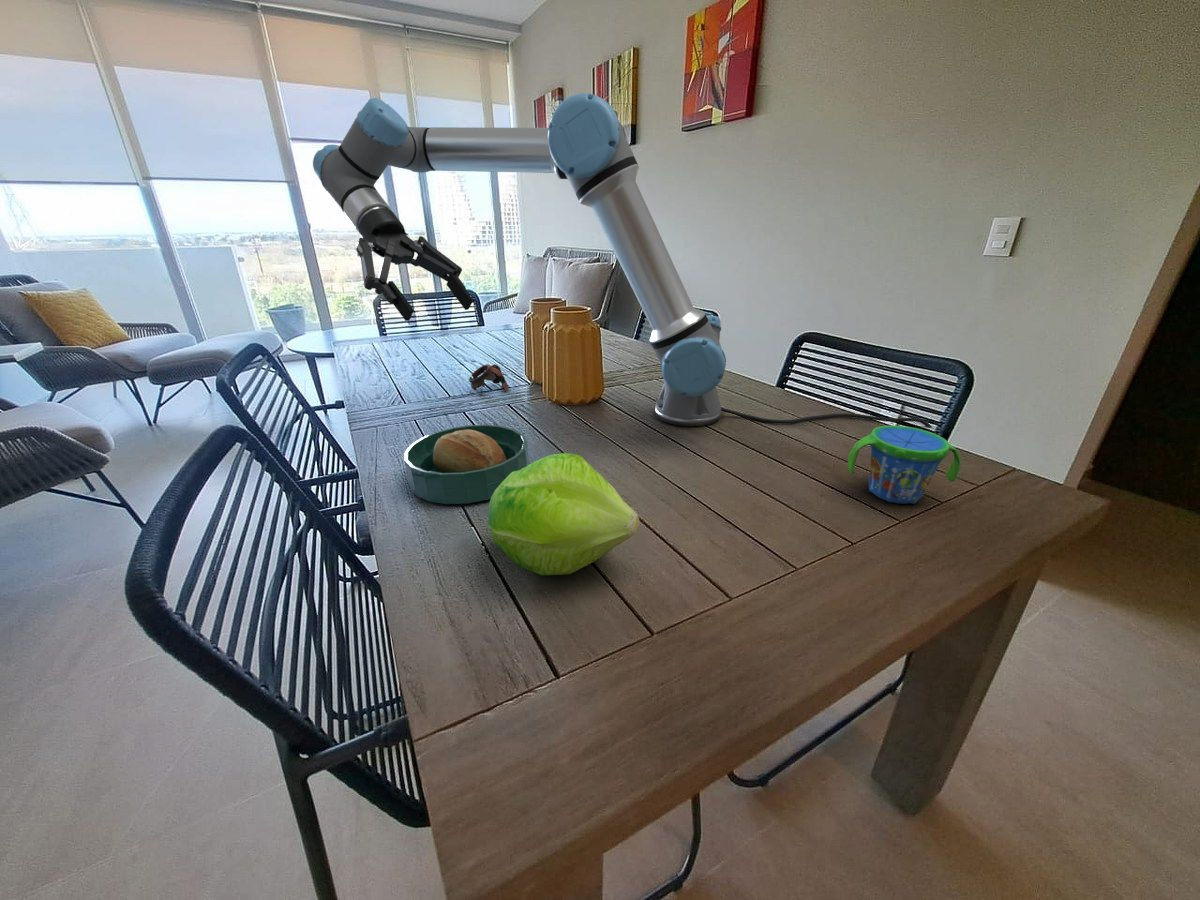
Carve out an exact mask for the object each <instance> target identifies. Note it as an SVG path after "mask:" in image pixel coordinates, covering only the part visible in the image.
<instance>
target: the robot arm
mask: <svg viewBox="0 0 1200 900" xmlns="http://www.w3.org/2000/svg"><path fill="white" fill-rule="evenodd" d="M549 121H550V122H549V124H548V127H470V126H469V127H467V126H466V127H464V126H463V127H460V126H459V127H457V126H456V127H455V126H454V127H453V126H452V127H450V126H449V127H447V126H446V127H439V126H438V127H437V126H435V127H434V126H433V127H424V126H419V127H418V126H408V124H407V122H406V121H405V120H404V118H403V117H402V116H401V115H400V114H399V113H398V112H397V111H396V110H395V109H394V108H393V106H390V104H388V103H386V102H385V101H383V100H382V99H380V98H378V97H371V98H369V99H368V100H367V101H366V103H365V104H364V106H363V107H362V108H361V109H360V110H359V111H358V112H357V114H356V117H355V118H354V120H353V122H352V124H351V126H350V127H349V129H348V131H347V133H346V134H345V136H344V138H343V139H342V141H341V143H340V145H338V144H326V145H323V148H321V149H318V150H317V151H316V153H315V154H314V155H313V157H312V158H313V159H312V168H313V171H314V173H315V175H316V177H317V178H318V179H319V181H320V183H321V185H322V187H323V189H324V190H325V191H326V192H327V193H328V194H329V195H330V196H331V197H332V198H333V200H334V201H335V204H337V206H338V207H339V208H340V209H341V211H342V212H343V213H344V215H345V217H346V218H347V220H348V221H349V223H351V225H352V226H353V227H354V229H355V230H356V231H357V232H358V234H359V236H360V237H359V238H358V242H357V244H356V248H355V251H356V252H357V255H358V256H359V258H360V263H361V272H362V279H363V286H364V288H365V289H366V290H368V291H371V290H372V289H374V293H375V294H376V295H378V296H381V295H382V296H383V297H384V298H385V300H386V301H387V303H389V304H390V305H393V306H394V307H395V309H396V310H397V311H398V313H399V314H400V316H401V317H402V319H404V321H405V322H408V321H411V318H412V316H413V314H414V311H415V309H414V308H413V306H412V305H411V304H410V303H409V301H408V300H407V298H406V297H405V295H404V294H403V293H402V292H401V290H400V289H399V288H398V286H397V285H396V284H395V282H394V281H393V280H389V281H388V278H389V275H390V274H389V273H390V269H391V264H394V265H395V266H398V265H401V264H404V265H409V264H410V265H412V266H414V267H420V268H422V269H424V270H426V271H427V272H429V273H431V274H433V275H434V276H436V277H438V278H440V279H442V280H444V281H445V282H446V284H445V285H446V287H447V288H448V289H449V291H450V292H451V293H452V295H453V296H454V297H455V298H456V300H457V301H458V303H459V304H460V305H461V306H462V308H463V310H465V311H467V310H468V311H469V310H470V307H471V306H472V304H473V302H474V298H473V297H472V296H471V295H470V293H469V291H468V290H467V287H466V285H465V284H464V282H463V281H462V279H460V275H461V274H462V271H463V269H462V267H461V266H460V265H458V264H457V263H455V262H454V261H453V260H451V258H449V257H447V256H446V255H445V254H444V253H443V252H441V251H440V250H438V249H437V248H436V247H434V246H433V245H432V244H431V243H429V241H428V240H427V239H426V238H425V237H424V236H422V235H419V236H418V238H417V239H414V240H413V239H412V238H410V236H408V235H407V232H406V229H405V226H404V225H403V223H402V221H401V220H400V219H399V218H398V217H397V215H396V213H395V212H394V211H393V210H392V208H391V207H390V206H389V204H388V203H387V202H386V199H384V198H383V197H382V195H381V194H380V193H379V191H378V190H377V188H376V187H375V185H376V183H377V182H378V180H379V179H380V178H381V176H382V175H383V173H384V172H385V170H386V169H387V167H394V168H398V169H404V170H407V171H411V172H413V173H419V174H420V173H421V174H422V173H423V174H424V173H428V172H436V171H437V172H476V173H477V172H483V173H486V172H487V173H489V172H490V173H529V174H531V173H533V174H534V173H535V174H541V173H542V174H555V175H556V176H557V178H558V179H559V180H568V182H569V184H570V186H571V188H572V191H573V192H574V194H575V195H576V198H577V200H578V202H579V204H580V205H583V206H585V207H588V208H591V209H592V210H593V212H594V214H595V216H596V218H597V220H598V222H599V225H600V227H601V228H602V231H603V232H604V235H605V237H606V238H607V240H608V243H609V244H610V247H611V249H612V251H613V253H614V254H615V257H616V259H617V261H618V263H619V265H620V267H621V269H622V271H623V273H624V275H625V277H626V279H627V281H628V283H629V285H630V287H631V289H632V291H633V293H634V295H635V297H636V299H637V301H638V304H639V305H640V307H641V309H642V311H643V313H644V315H645V318H646V320H647V322H648V323H649V325H650V327H651V334H650V337H649V340H648V341H649V344H650V345H651V347H652V349H653V351H654V354H655V355H656V357H657V359H658V362H659V363H660V365H661V373H662V378H663V385H662V387H661V390H660V393H659V396H658V397H655V407H654V408H655V412H654V413H655V416H656V418H657V419H658V420H660V421H661V422H664V423H666V424H670V425H674V426H679V427H702V426H703V427H704V426H708V425H712V424H714V423H717V422H718V421H720V420H721V418H722V412H723V413H726V414H730V415H734V416H737V417H741V418H745V419H748V420H749V419H750V420H753V421H757V422H762V423H769V424H779V425H780V424H783V425H784V424H785V425H787V424H797V423H802V422H807V421H814V420H822V419H831V418H857V419H865V420H872V421H878V422H888V423H900V422H901V423H902V422H916V423H920V424H922V425H923V426H925V427H926V428H929V429H932V428H933V427H932V425H931V424H930V423H929V422H928V421H926V420H924V419H922V418H920V417H896V418H895V417H882V416H875V415H867V414H861V413H846V412H845V413H844V412H841V413H825V414H818V415H811V416H804V417H800V418H792V419H772V418H764V417H759V416H755V415H751V414H746V413H743V412H739V411H735V410H732V409H729V408H725V407H722V405H721V401H720V397H719V394H718V393H719V392H718V389H717V386H718V385H719V384H720V383H721V381H722V380H723V378H724V375H725V371H726V366H727V358H726V354H725V351H724V350H723V349H722V345H721V342H720V338H721V331H722V326H721V325H722V321H721V318H720V317H719V316H717V315H707V314H706V312H705V311H704V310H702V309H698V308H696V307H694V305H693V304H692V301H691V299H690V297H689V294H688V292H687V291H686V290H687V289H686V288H685V286H684V284H683V282H682V280H681V277H680V275H679V273H678V271H677V269H676V266H675V264H674V262H673V260H672V258H671V255H670V254H669V253H670V252H669V251H668V249H667V246H666V245H665V242H664V240H663V237H662V236H661V234H660V231H659V229H658V227H657V224H656V223H655V220H654V218H653V217H652V215H651V212H650V209H649V208H648V205H647V203H646V201H645V199H644V196H643V195H642V192H641V190H640V187H639V186H638V183H637V175H638V172H639V168H640V166H639V164H638V161H637V159H636V156H635V155H634V152H633V151H632V148H631V146H630V144H629V141H628V139H627V134H626V132H625V128H624V127H623V124H622V123H621V122H620V121H619V119H618V116H617V113H616V111H615V109H614V108H613V107H612V105H611V104H610V103H608V101H607V100H605V99H604V98H602V97H600V96H598V95H596V94H593V93H589V92H588V93H587V92H581V93H576V94H573V95H571V96H569V97H566V98H565V99H564V100H563V101H562V102H561V103H559V105H558V106H557V107H556V108H555V110H554V112H553V114H552V116H551V118H550V120H549ZM373 253H374V254H376V255H377V256H379V257H380V258H381V259H382V260H381V263H380V269H379V273H378V276H377V277H376V274H375V265H374V258H373ZM415 254H417V256H416V258H415Z"/></svg>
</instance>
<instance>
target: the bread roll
mask: <svg viewBox="0 0 1200 900" xmlns="http://www.w3.org/2000/svg"><path fill="white" fill-rule="evenodd" d="M504 461H506V456H505V454H504V452H503V450H502V449H501V447H500V446H499V445H498V444H497V443H496V441H495V440H493V439H492V438H491V437H489V436H487V435H485V434H483V433H481V432H478V431H475V430H460V431H455V432H453V433H449V434H446V435H443V436H441V438H439V439H438V440H437V442H436V444H435V447H434V452H433V463H434V465H435V466H436V467H437V468H438V469H439V470H441V471H443V472H446V473H461V472H469V471H474V470H480V469H485V468H488V467H491V466H494V465H497V464H501V463H502V462H504Z"/></svg>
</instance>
